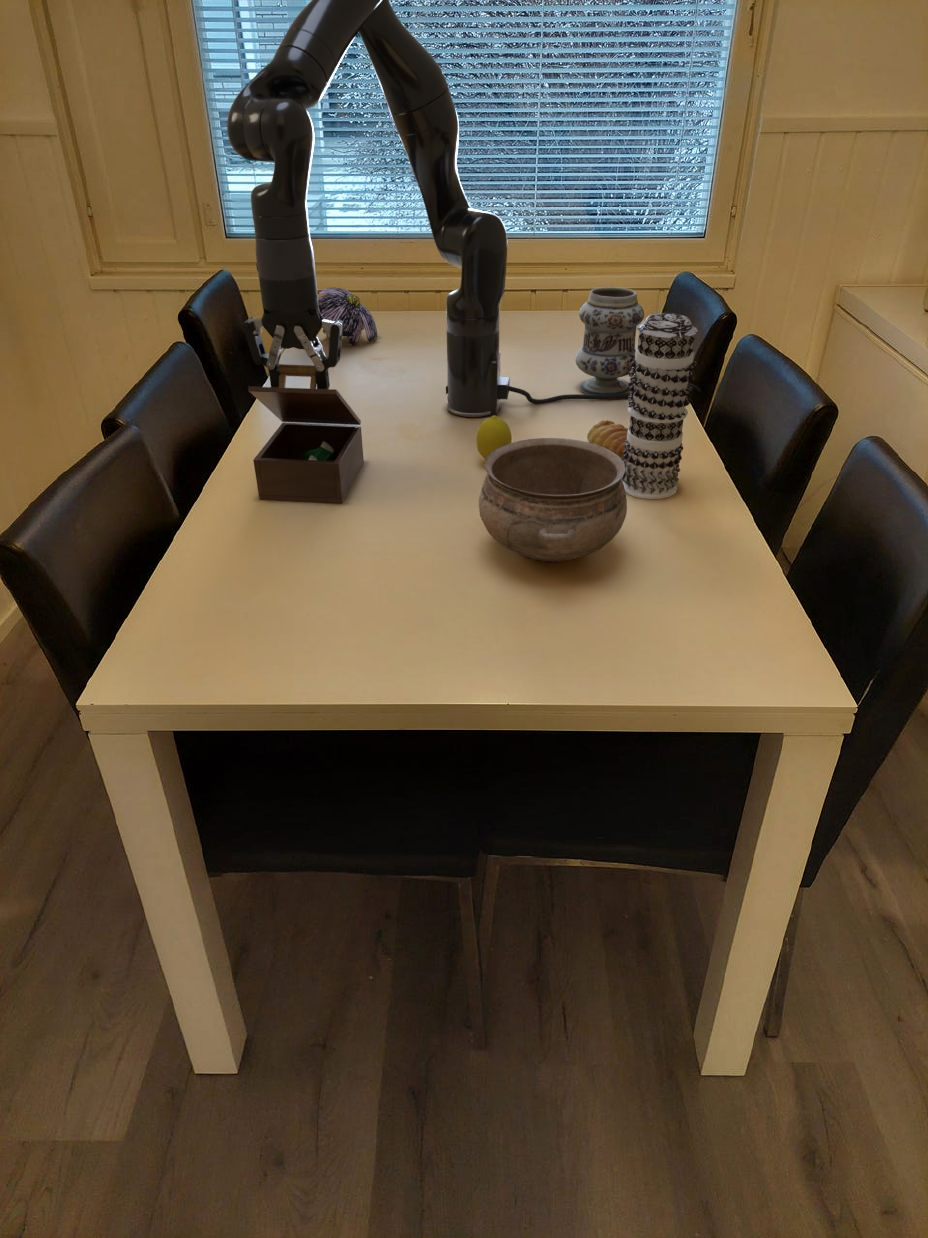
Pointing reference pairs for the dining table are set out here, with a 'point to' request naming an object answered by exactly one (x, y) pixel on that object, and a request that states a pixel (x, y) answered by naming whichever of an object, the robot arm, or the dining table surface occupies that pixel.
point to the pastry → (609, 436)
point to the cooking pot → (553, 498)
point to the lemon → (492, 435)
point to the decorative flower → (347, 313)
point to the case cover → (305, 400)
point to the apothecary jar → (608, 339)
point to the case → (309, 463)
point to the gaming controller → (319, 453)
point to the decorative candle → (658, 405)
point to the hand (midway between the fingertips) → (301, 393)
